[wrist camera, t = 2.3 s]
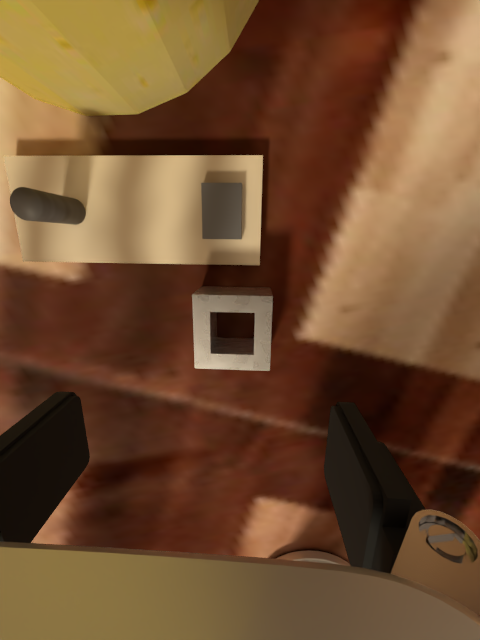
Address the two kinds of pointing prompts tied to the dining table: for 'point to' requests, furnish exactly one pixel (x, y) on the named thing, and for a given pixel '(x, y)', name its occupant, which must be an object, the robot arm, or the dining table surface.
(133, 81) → the cheese
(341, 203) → the dining table surface
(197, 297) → the link
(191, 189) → the peg board
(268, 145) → the dining table surface
